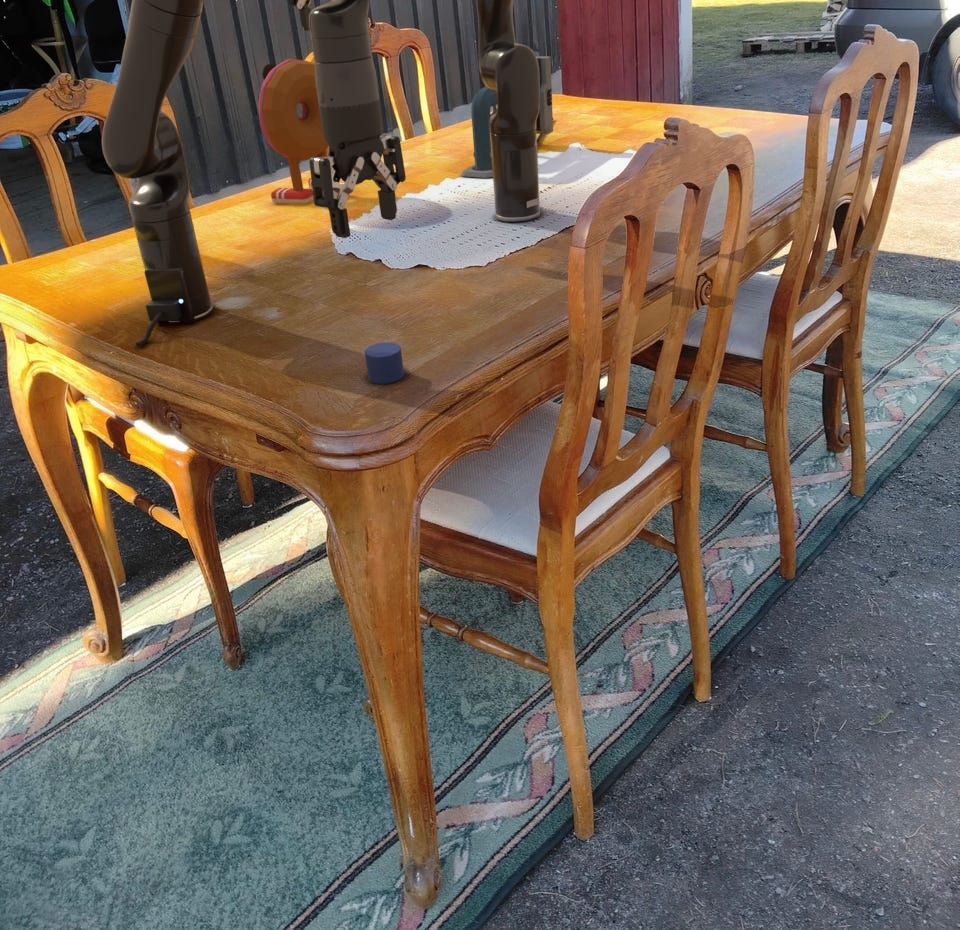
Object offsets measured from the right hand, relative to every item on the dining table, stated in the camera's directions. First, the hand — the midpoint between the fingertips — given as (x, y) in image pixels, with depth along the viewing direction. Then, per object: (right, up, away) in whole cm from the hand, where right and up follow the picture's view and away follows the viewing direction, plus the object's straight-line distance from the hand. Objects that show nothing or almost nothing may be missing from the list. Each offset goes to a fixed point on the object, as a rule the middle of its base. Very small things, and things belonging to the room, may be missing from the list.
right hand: (328, 29), depth 182 cm
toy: (-11, -19, +44) cm, 50 cm away
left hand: (+14, -51, -55) cm, 76 cm away
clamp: (+36, -5, +61) cm, 71 cm away
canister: (+15, -69, -44) cm, 83 cm away
